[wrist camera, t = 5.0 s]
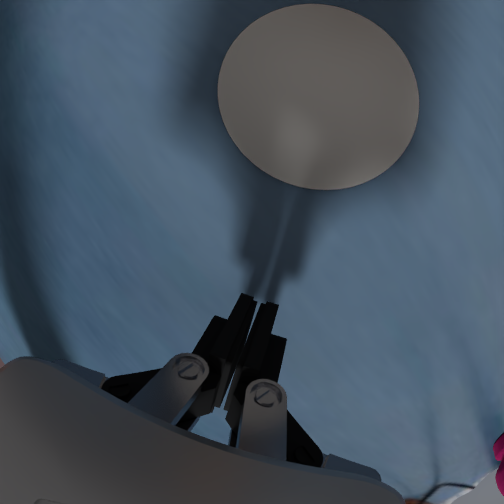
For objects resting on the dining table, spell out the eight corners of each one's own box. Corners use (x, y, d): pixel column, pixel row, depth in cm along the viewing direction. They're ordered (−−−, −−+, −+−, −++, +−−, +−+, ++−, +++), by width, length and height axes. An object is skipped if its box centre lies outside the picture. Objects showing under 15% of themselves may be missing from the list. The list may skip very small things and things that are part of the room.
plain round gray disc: (241, 202, 12) (239, 203, 12) (203, 30, 9) (202, 28, 9) (430, 179, 10) (431, 180, 9) (388, 1, 7) (388, -1, 7)
